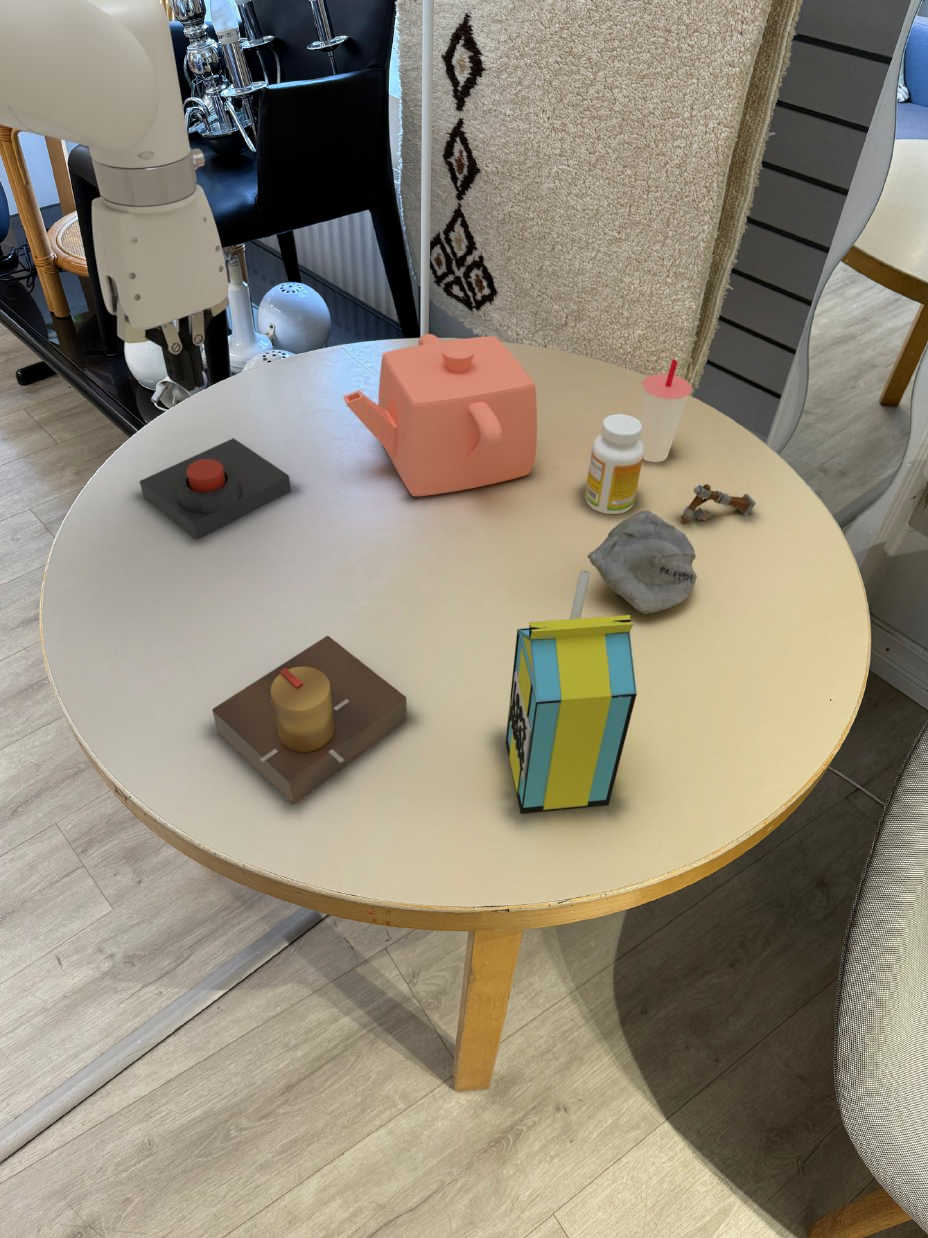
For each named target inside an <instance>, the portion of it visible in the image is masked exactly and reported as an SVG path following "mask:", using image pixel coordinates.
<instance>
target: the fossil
mask: <svg viewBox="0 0 928 1238" xmlns="http://www.w3.org/2000/svg"><path fill="white" fill-rule="evenodd" d="M696 555H697V554H696V551H695V548H694V546H693V544H692V542H691V541H689V538H688V537H687V535H686V534H685V532H682V531H681V530H680V529H678V528H676V526H675V525H673V524H671V523H668V522H667V521H665V520H664V519H662V517H660V516H659V515H657V514H656V513H653V512H652V511H650V510H641V511H638V512H637V513H635V514H633V515H631V516H630V517H628V518H626V519H623V520H622V521H621V522H619V523H618V524H616V526H614V527H613V528H612V529H611V530H610V531H609V532H608V534H607V537H606V538H605V539H604V540H603V542H602V543H600V545H598V547H596V548H595V549H594V550H592V551H591V552H589V554H587V558H588V559H589V562H590V564H591V565H592V566H594V567H595V569H596V570H597V572H598V573H599V575H600V576H601V578H602V579H603V581H604V582H605V583H606V584H607V586H608V587H610V590H611V591H612V593H613V594H615V595H617V596H620V597H622V598H623V599H624V600H625V601H626V602H627V603H628V604H629V605H630V606H631V607H633V608H634V609H635V610H637V611H638V612H640V613H642V614H645V615H648V614H653V613H658V612H660V611H663V610H668V609H670V608H672V607H674V606H676V605H680V603H682V602H683V601H685V600H686V599H687V598H688V597H689V596H690V594H691V593H692V591H693V590H694V588H695V585H696V580H697V578H698V576H697V573H696V572H695V571H694V569H693V562H694V561H695V559H697V556H696Z"/></svg>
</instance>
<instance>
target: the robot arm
mask: <svg viewBox="0 0 928 1238" xmlns="http://www.w3.org/2000/svg"><path fill="white" fill-rule="evenodd" d="M175 57H176V56H175V51H174V46H173V38H172V32H171V27H170V22H169V18H168V15H167V12H166V9H165V7H164V6H163V4H162V3H161V1H160V0H0V125H1V126H4V127H7V128H9V129H14V130H18V131H21V132H26V133H30V134H34V135H38V136H44V137H50V138H53V139H57V140H60V141H66V142H69V143H72V144H73V143H74V144H78V145H82V146H85V147H88V150H89V154H90V157H91V161H92V165H93V170H94V174H95V179H96V182H97V187H98V190H99V191H98V192H99V194H100V197H96V198H94V199H93V200H91V225H92V227H91V228H92V238H93V239H92V240H93V248H94V254H95V255H94V256H95V261H96V267H97V273H98V279H99V284H100V289H101V294H102V298H103V301H104V305H105V307H106V308H105V309H106V310H107V311H108V312H109V314H111V315H114V316H116V333H117V334H116V335H117V337H118V338H119V339H121V340H122V341H124V342H125V343H127V344H140V343H146V342H151V343H153V344H155V345H158V346H159V347H161V352H162V357H163V361H164V365H165V371H166V374H167V377H168V378H169V380H170V381H172V382H173V383H174V384H176V385H178V386H179V387H180V388H182V389H184V390H185V391H187V392H189V393H190V392H193V391H195V390H196V388H198V389H199V388H202V387H205V384H206V383H205V379H204V374H203V373H204V372H205V365H204V360H203V356H202V350H201V345H203V343H204V342H205V332H206V330H207V328H208V327H209V324H210V322H211V320H212V318H213V317H216V316H217V315H218V314H221V313H222V312H223V311H225V310H226V309H227V308H228V307H229V304H230V302H229V299H228V294H229V279H228V278H229V277H228V272H227V266H226V261H225V255H224V252H223V247H222V244H221V239H220V238H221V237H220V235H219V231H218V228H217V224H216V221H215V218H214V215H213V211H212V208H211V207H210V203H209V200H208V199H207V196H206V193H205V191H204V189H203V187H202V186H200V184H198V183H196V182H198V179H197V174H196V173H197V172H196V170H198V168H200V167H204V166H205V164H206V159H205V155H204V153H203V151H202V149H200V148H198V147H197V148H193V149H192V147H190V140H189V134H188V129H187V123H186V117H185V112H184V106H183V100H182V94H181V88H180V81H179V76H178V69H177V64H176V58H175ZM174 321H175V322H174Z"/></svg>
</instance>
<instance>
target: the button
mask: <svg viewBox="0 0 928 1238" xmlns="http://www.w3.org/2000/svg"><path fill="white" fill-rule="evenodd" d="M187 476H188V480H189V485H190V488H191V489H192V490H194V491H197V492H209V491H215V490H217V489H220V488H222V487H223V486H224V485H225V475H224V470H223V466H222V464H221V463H220V462H218V461H216V460H212V459H203V460H198V461H196V462H194V463H192V464H190V465H189V466H188V468H187Z"/></svg>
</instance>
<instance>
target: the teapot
mask: <svg viewBox="0 0 928 1238" xmlns="http://www.w3.org/2000/svg"><path fill="white" fill-rule="evenodd" d="M378 383H379V385H378V401H377V402H378V403H376V402H374V401H373V400H372V399H370V398H369V397H368V396H367V395H365V394H363V392H362V390H361V389H359V390H357V391H354V392H351V393H348V394H345V395H343V400H344V402H345V404H346V406H347V407H348V409H349V410H350V411H351V412H352V413H353V414H354V415H355V417H357V418H358V420H360V422H361V423H362V424H363V426H365V428H366V429H368V431H369V432H370V433H371V434H372V435H373V437H374V438H376V440H377V441H378V442H379V443H380V444H381V445H382V446H383V447H384V449H385V452H386V453H387V455H388V458H389V459H390V461H391V463H392V464H393V467H394V468H395V470H396V473H397V474H398V475H399V477H400V479H401V481H402V482H403V484H404V486H405V487H406V489H407V491H408V492H409V493H410V495H411V496H412V497H424V496H432V495H439V494H445V493H446V494H447V493H452V492H453V493H454V492H459V491H465V490H469V489H470V490H471V489H475V488H479V487H484V486H490V485H493V484H497V483H503V482H505V481H506V482H507V481H509V480H510V481H511V480H514V479H517V478H521V477H524V476H528V475H530V473H531V472H532V470H533V466H534V463H535V459H536V454H537V442H538V441H537V440H538V407H537V390H536V383H535V382H534V380H533V379H532V378H531V376H530V375H529V374H528V372H527V371H526V370H525V368H524V367H523V366H522V364H521V363H520V362H519V361H518V360H517V359H516V357H515V356H514V355H513V353H512V352H511V351H510V350H509V349H508V348H507V347H506V346H505V344H503V343H502V341H500V339H499V338H498V337H497V336H495V335H489V336H477V337H468V338H461V339H453V340H446V341H442V340H441V339H440V338H439V337H438V336H436V335H435V334H432V333H424V334H422V335H421V336H420V337H419V338H418V341H417V345H415V346H407V347H402V348H399V349H398V348H397V349H393V350H389V351H386V352H384V353H383V354H382V357H381V363H380V373H379V382H378Z"/></svg>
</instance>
